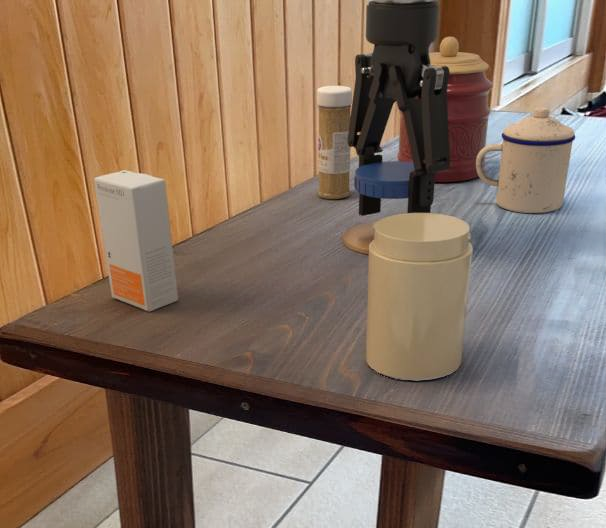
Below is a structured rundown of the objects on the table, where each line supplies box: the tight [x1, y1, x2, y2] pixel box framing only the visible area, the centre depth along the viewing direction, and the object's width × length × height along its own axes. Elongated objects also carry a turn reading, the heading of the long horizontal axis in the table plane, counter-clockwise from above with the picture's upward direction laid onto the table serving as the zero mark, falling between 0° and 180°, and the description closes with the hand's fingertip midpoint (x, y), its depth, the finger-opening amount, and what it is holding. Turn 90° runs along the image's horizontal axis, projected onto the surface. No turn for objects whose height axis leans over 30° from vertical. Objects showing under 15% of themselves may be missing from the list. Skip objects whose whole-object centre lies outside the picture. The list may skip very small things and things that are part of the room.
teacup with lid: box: [476, 106, 576, 214], centre depth 110 cm, size 12×9×12 cm
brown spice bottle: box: [316, 85, 353, 200], centre depth 114 cm, size 5×5×14 cm
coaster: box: [342, 220, 379, 256], centre depth 102 cm, size 12×12×1 cm
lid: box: [353, 160, 415, 200], centre depth 98 cm, size 9×9×2 cm
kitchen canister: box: [396, 36, 494, 183], centre depth 122 cm, size 13×13×18 cm
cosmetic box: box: [93, 169, 179, 313], centre depth 84 cm, size 6×4×12 cm
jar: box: [365, 212, 474, 379], centre depth 72 cm, size 8×8×12 cm
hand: (392, 222), depth 101 cm, fingers closed on lid, 9 cm apart
